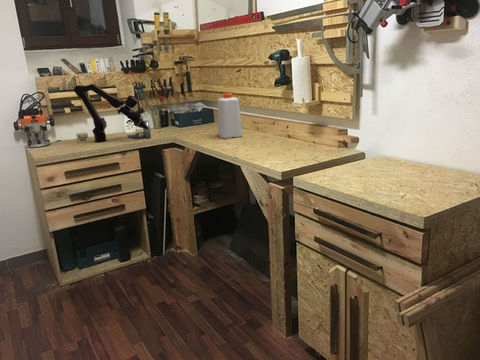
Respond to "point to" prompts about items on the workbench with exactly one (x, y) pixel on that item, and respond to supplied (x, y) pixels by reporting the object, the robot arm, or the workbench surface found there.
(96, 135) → the robot arm
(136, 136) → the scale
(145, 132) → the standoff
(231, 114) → the plastic bottle
